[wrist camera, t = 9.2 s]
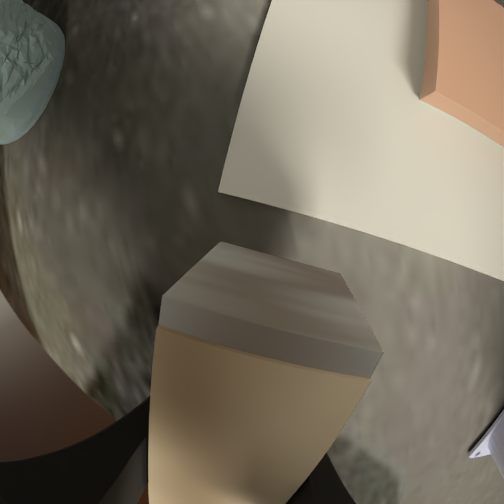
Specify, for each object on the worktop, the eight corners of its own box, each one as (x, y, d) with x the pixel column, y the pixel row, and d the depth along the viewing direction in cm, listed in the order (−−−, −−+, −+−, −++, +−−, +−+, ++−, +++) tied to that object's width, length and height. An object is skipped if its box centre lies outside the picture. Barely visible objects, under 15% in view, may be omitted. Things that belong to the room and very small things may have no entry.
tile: (532, 171, 9) (532, 53, 7) (553, 172, 8) (548, 47, 5) (416, 101, 10) (424, -18, 8) (435, 91, 8) (436, -34, 6)
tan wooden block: (339, 272, 9) (385, 355, 5) (257, 462, 12) (246, 543, 7) (221, 240, 10) (160, 298, 5) (181, 442, 12) (150, 518, 7)
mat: (578, 90, 7) (582, 90, 6) (552, 301, 11) (556, 303, 10) (299, -68, 8) (298, -73, 7) (220, 191, 12) (217, 191, 12)
